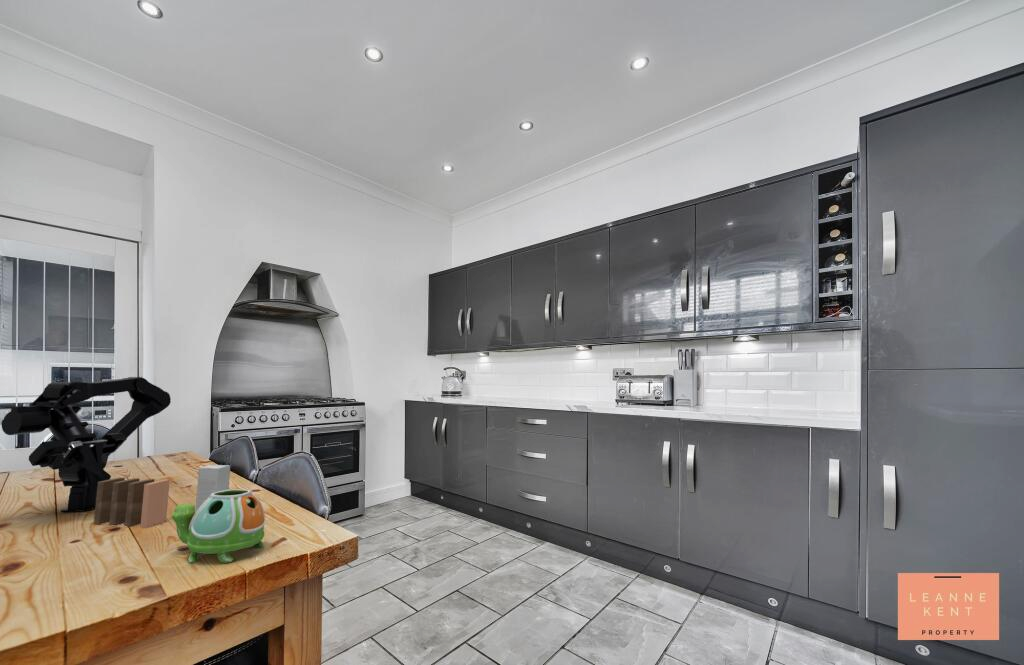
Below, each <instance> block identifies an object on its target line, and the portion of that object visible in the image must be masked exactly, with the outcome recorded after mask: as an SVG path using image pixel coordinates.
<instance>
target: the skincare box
mask: <svg viewBox="0 0 1024 665" xmlns="http://www.w3.org/2000/svg"><path fill="white" fill-rule="evenodd" d="M230 474H231V465H229V464H226V465H225V464H224V465H222V464H218V465H217V464H210V465H209V464H208V465H205V466H200V467H198V474H197V475H198V476H197V487H196V488H197V489H196V501H195V512H196V511H197V510H198V509H199V507H200V506H201V505H202V504H203V503H204V502H205V501H206V500H207V499H208V498H209V497H210V495H211V494H212V493H215V492H219V491H223V490H230V478H231V477H230V476H231V475H230Z"/></svg>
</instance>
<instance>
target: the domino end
mask: <svg viewBox="0 0 1024 665" xmlns="http://www.w3.org/2000/svg"><path fill="white" fill-rule="evenodd" d="M170 481H171V480H170V479H159V480H155V481H154V482H152V483H148V484H144V494H143V504H142V515H141V524H140V527H141V529H147V528H150V527H154V526H156V525H160V524H163V523H165V522H167V515H168V514H167V512H168V505H169V504H168V503H169V493H170ZM140 527H139V528H140Z"/></svg>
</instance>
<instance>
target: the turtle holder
mask: <svg viewBox="0 0 1024 665" xmlns="http://www.w3.org/2000/svg"><path fill="white" fill-rule="evenodd" d="M247 499H249V501H247ZM195 511H196V505H194V504H193V503H191V504H183V503H180V504H178V505H177V506H176V507H174V512H173V513H171V519H172V521H174V523H175V526H176V533H177V536H178V539H179V540H180V542H182V543H183V544H185V545H187V548H188V550H190V554H189V556H188V558H187V563H189V564H194V563H196V562H197V561H198V557H199V554H205V555H206V554H209V555H210V554H212V555H214V554H217V558H218V561H219V562H220V563H225V564H226V563H227V564H228V563H232V562H233V561H234V558H233V557H232V556H231V555H230V554H229V553H230V552H235V551H240V550H243V549H247V548H251V547H253V548H256V549H257V548H263V547H265V543H264V542H263V541H262V540H263V539H264V537H265V531H264V528H265V524H266V512H265V510H264V506H263V504H262V502H261V500H260V499H259V498H258V497H257V496H256V494H254V493H253V492H252V490H251V489H243V488H242V489H239V488H238V489H236V488H235V489H229V490H223V491H219V492H215V493H212V494H211V495H210V497H209V498H208V499H207V500H206V501H205V502H204V503H203V504H202V505H201V506H200V507H199V509H198V510H197V511H196V512H195Z"/></svg>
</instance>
